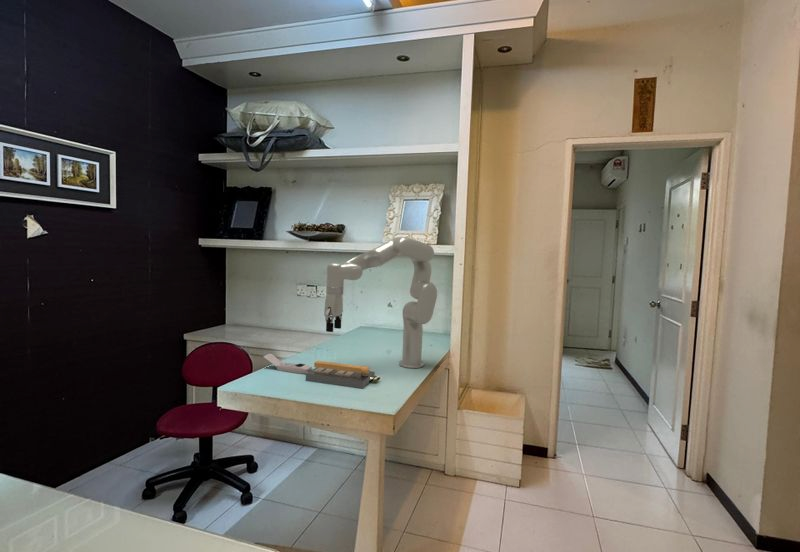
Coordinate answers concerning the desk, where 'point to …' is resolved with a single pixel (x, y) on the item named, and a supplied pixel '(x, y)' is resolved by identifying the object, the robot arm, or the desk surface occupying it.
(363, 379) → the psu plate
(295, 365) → the pale grey angled bar
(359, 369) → the orange wooden bar
